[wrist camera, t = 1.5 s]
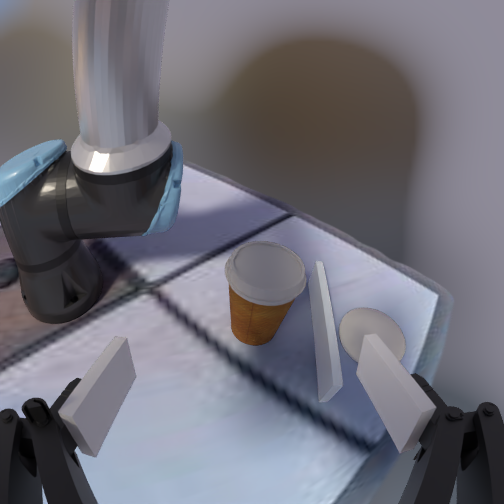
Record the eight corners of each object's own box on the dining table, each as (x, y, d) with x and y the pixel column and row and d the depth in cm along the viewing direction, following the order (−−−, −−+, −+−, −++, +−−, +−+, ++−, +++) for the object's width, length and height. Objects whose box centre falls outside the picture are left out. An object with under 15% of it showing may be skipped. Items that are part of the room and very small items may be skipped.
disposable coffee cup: (253, 293, 44) (265, 230, 37) (299, 330, 39) (324, 269, 32) (205, 322, 38) (208, 256, 31) (253, 368, 33) (270, 309, 26)
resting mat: (327, 313, 42) (328, 311, 42) (384, 306, 45) (385, 304, 45) (355, 377, 33) (357, 376, 33) (414, 359, 36) (416, 358, 36)
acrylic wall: (327, 402, 30) (343, 385, 27) (318, 401, 30) (333, 385, 27) (314, 283, 48) (322, 261, 45) (307, 282, 48) (315, 260, 45)
